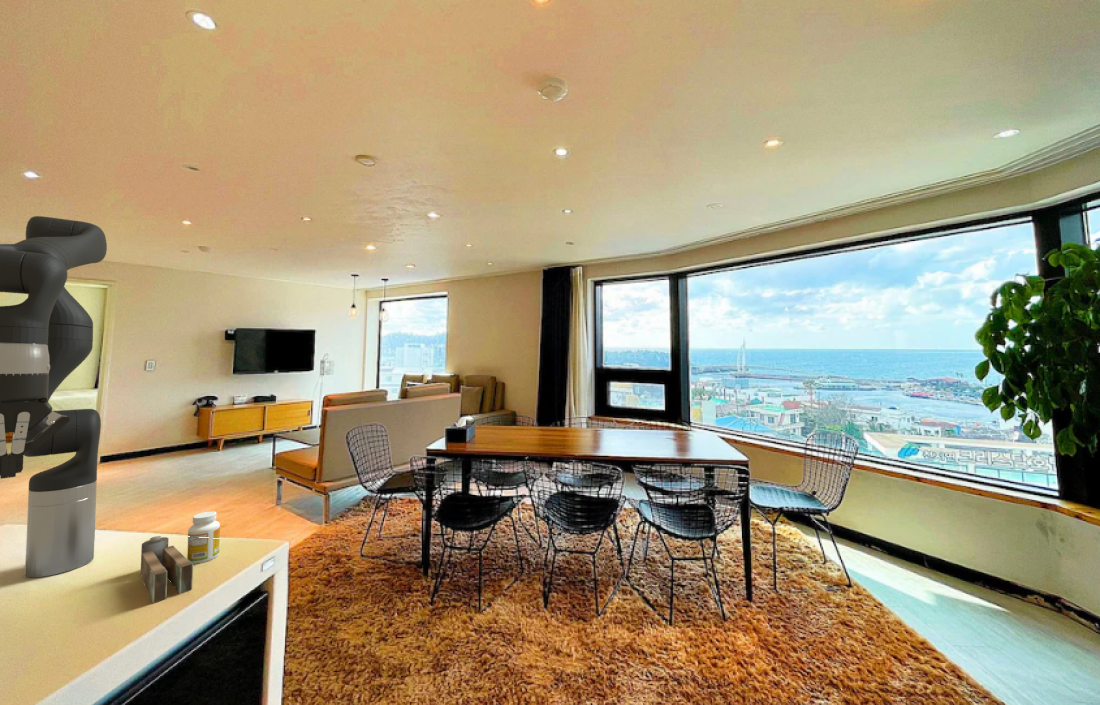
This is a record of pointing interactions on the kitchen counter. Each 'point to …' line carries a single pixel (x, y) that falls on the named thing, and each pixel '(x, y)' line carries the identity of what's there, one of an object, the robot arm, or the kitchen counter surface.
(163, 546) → the tongs frame
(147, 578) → the tong arm
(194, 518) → the supplement bottle
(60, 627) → the kitchen counter surface
